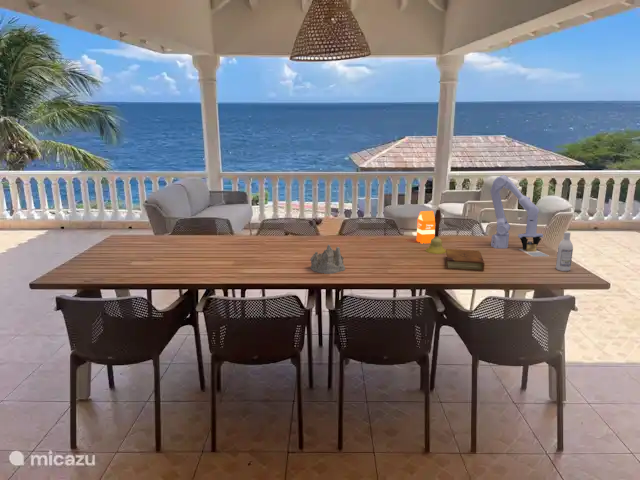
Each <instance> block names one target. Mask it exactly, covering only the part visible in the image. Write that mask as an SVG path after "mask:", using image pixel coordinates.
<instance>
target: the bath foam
mask: <svg viewBox="0 0 640 480" xmlns="http://www.w3.org/2000/svg"><path fill="white" fill-rule="evenodd" d="M573 250H574V246H573V242H572V241H571V232H570V231H564V233H563V239H561V241H560V242H559V244H558V247H557V256H556V264H555V269H556V270H557V271H562V272H569V271H570V270H571V268H572V259H573V252H574V251H573Z"/></svg>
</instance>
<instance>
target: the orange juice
mask: <svg viewBox="0 0 640 480" xmlns="http://www.w3.org/2000/svg"><path fill="white" fill-rule="evenodd" d="M435 226H436V224H435V214H434V210H424V211H422V210H421V211H419V214H418V217H417V225H416V242H417V243H419V242H420V244H422V245H423V243H424V244H431V239H433V238H434V237H435Z"/></svg>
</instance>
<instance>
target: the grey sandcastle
mask: <svg viewBox="0 0 640 480" xmlns="http://www.w3.org/2000/svg"><path fill="white" fill-rule="evenodd" d="M310 264H311V265H310V269H311V270H312V271H313V272H315V273H319V274H323V273H324V274H325V275H330V274H332V275H333V274H337V273H341V272H344V271H345V270H346V267H345V264H344V257H343V255H342V254H341V247H340V246H337V247H336V248H335V249H333V248H332V246H331V244H327V247H326V249H324V251H323V252H322V253H318V251H315V252H314V253H313V255H312V256H311V257H310Z"/></svg>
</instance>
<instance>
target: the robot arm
mask: <svg viewBox="0 0 640 480" xmlns="http://www.w3.org/2000/svg"><path fill="white" fill-rule="evenodd" d="M503 189H506V190H509V191H510V192H511V193H512V194H513V195H514V197H516V198H517V199H518V204H519V205H520V206H521V207H522V208H523V210H525V211H526V214H527V219H526V228H525V233H518V234H517V237H518V238H519V240H520V241H521V246H522V247H523V249H524V250H526V245H527V243H528V242H529V241H528V240H529V239H528V238H532V243H534V244H536V245H537V246H538V244H539V243H540V241H542V238H544V234H543V233H538V232H537V230H538V229H537V228H538V220H539V219H538V217H539V215H538V214H539V213H540V209H539V207H538V206H536V204H535V203H534V202H532V201H531V198H530V196H529V197H528V196H527V195H524V194H523V193H522V192H521V190H519V189H518V187H517V186H516V184H515V183H514V182H513V180H512V179H510V178H509V176H507V175H504V174H503V175H500V176H497V177H496V178H495V179H494V180H493V182H492V185H491V188H490V195H491V196H490V197H491V201H492V205H493V209H494V214H495V218H496V229H495V231H496V233H495V234H492V235H491V242H490V246H491V248H493V249H508V248H509V240H510V233H509V231H510V229H511V225H510V223H509V222H508V219H507V218H506V215H505V210H504V205H503V202H502V197H501V194H500V192H501V191H502V190H503Z"/></svg>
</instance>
